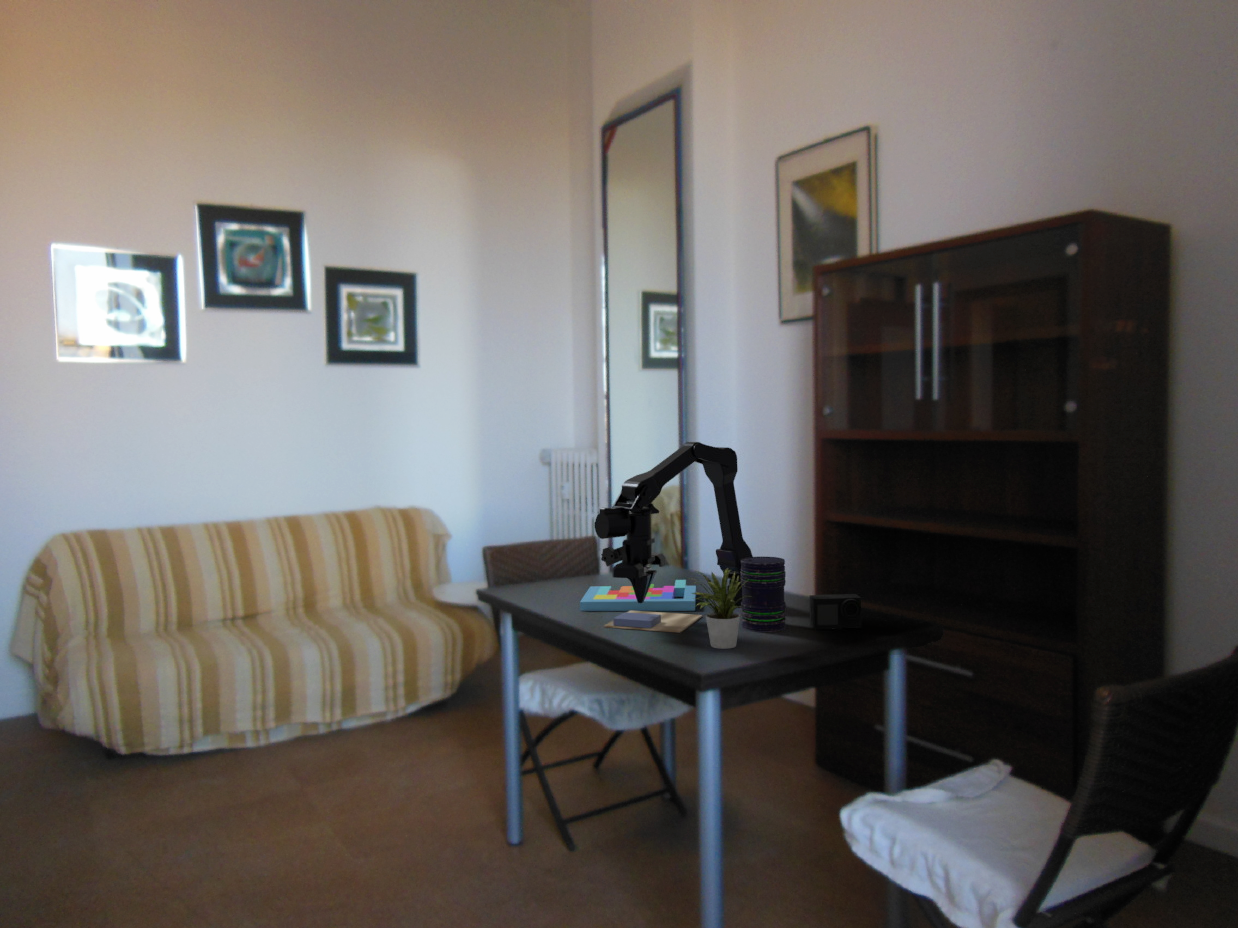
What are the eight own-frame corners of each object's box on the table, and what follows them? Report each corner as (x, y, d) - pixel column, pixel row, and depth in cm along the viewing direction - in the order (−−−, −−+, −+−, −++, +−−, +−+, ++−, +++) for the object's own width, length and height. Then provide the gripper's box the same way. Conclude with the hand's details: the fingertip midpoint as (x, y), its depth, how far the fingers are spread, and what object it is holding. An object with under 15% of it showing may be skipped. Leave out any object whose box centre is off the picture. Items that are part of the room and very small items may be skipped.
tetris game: (695, 612, 216) (696, 589, 244) (694, 601, 216) (696, 579, 244) (580, 613, 219) (594, 590, 247) (580, 601, 219) (594, 580, 247)
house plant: (690, 634, 193) (688, 559, 192) (755, 635, 190) (753, 559, 190) (684, 652, 179) (682, 571, 178) (754, 653, 176) (753, 571, 176)
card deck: (660, 614, 203) (650, 620, 197) (660, 621, 204) (651, 628, 198) (624, 612, 207) (613, 618, 201) (624, 619, 207) (613, 625, 201)
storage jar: (786, 622, 202) (785, 556, 201) (786, 632, 193) (785, 563, 192) (742, 621, 204) (741, 556, 203) (740, 631, 194) (738, 563, 194)
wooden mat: (701, 616, 210) (701, 614, 210) (680, 632, 195) (680, 630, 195) (630, 611, 216) (630, 610, 216) (604, 627, 202) (604, 625, 202)
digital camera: (815, 631, 193) (815, 599, 193) (809, 625, 199) (809, 594, 198) (863, 630, 193) (862, 598, 193) (855, 624, 199) (855, 593, 198)
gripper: (621, 528, 214) (623, 593, 215) (589, 539, 197) (591, 609, 198) (665, 529, 210) (666, 595, 211) (636, 540, 193) (638, 612, 193)
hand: (640, 602), depth 203 cm, fingers closed
